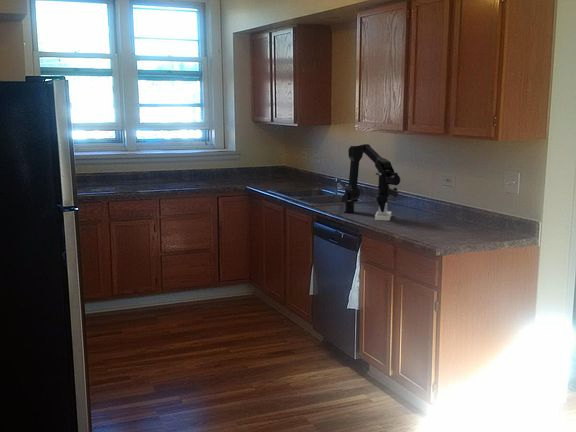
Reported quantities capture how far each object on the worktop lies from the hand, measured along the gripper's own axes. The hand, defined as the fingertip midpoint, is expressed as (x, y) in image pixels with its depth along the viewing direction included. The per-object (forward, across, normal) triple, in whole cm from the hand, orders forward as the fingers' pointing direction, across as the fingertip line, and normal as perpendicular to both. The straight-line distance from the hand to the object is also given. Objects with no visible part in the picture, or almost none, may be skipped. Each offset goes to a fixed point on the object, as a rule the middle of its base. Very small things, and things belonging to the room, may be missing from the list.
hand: (382, 211), depth 361 cm
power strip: (+4, +4, 0) cm, 6 cm away
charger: (+2, 0, 0) cm, 2 cm away
